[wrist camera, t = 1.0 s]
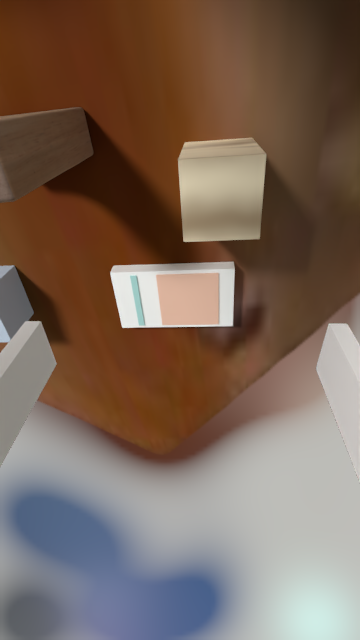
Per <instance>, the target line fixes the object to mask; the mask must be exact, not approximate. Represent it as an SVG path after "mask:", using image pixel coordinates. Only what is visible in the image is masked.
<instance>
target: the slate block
mask: <svg viewBox="0 0 360 640" xmlns="http://www.w3.org/2000/svg"><path fill="white" fill-rule="evenodd" d="M33 314H34V312H33V309H32V307H31V304H30V302H29V300H28V297H27V295H26V292H25V290H24V287H23V285H22V282H21V280H20V278H19V275H18V273H17V270H16V268H15V266H0V342H10V340H11V339H12V338H13V336H14V335H15V334H16V333H17V331H18V330H19V329H20V327H21V326H22V325H23V324H24V322H25V321H28V320H29V319H30V318H31V316H32V315H33Z"/></svg>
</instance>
